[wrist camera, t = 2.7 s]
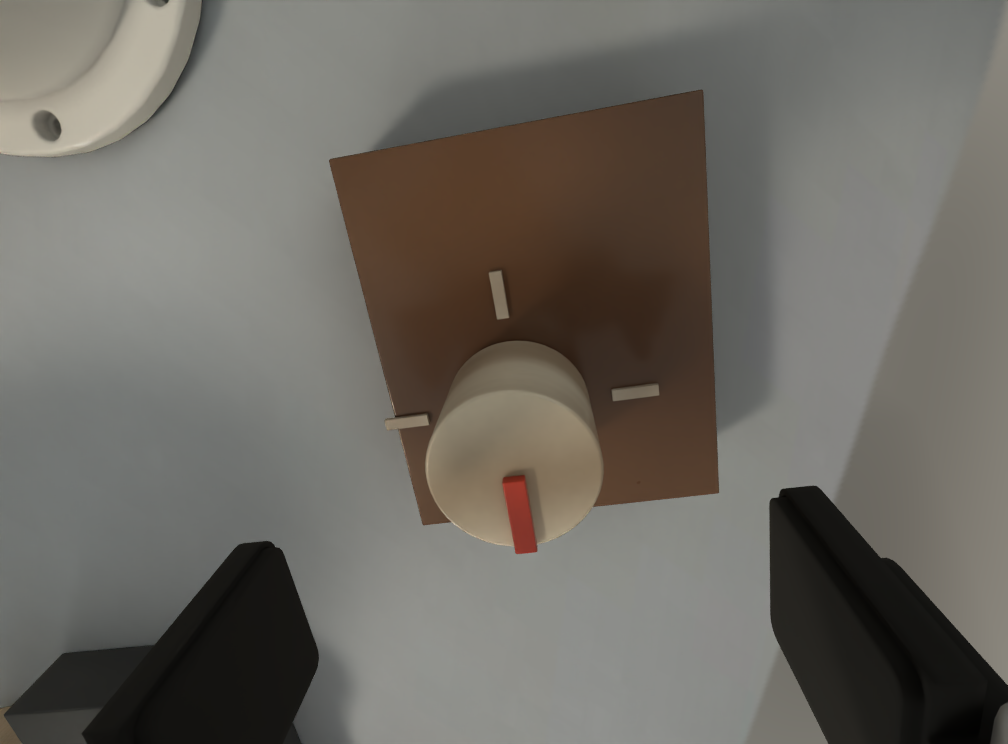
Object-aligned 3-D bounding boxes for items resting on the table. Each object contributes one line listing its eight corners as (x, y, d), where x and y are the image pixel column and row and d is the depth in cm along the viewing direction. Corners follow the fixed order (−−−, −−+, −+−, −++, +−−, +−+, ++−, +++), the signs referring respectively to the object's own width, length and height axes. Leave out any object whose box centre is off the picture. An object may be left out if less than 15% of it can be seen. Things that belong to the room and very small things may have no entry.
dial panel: (351, 161, 18) (315, 161, 15) (675, 101, 17) (705, 87, 14) (431, 486, 22) (414, 536, 19) (695, 456, 21) (721, 504, 18)
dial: (435, 350, 17) (403, 409, 13) (580, 329, 16) (595, 383, 12) (463, 475, 18) (442, 563, 14) (596, 459, 18) (614, 546, 14)
